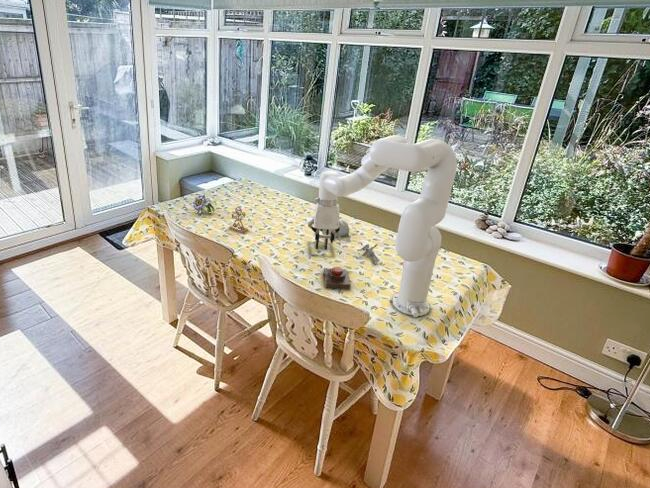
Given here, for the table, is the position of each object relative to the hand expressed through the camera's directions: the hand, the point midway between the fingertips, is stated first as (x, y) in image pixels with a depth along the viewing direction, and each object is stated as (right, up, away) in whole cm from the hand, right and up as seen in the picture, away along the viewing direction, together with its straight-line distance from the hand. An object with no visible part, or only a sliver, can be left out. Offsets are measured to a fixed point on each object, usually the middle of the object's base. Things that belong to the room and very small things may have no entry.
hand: (324, 241), depth 172 cm
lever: (0, +3, +5) cm, 5 cm away
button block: (+3, -15, -10) cm, 18 cm away
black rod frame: (+1, -5, +13) cm, 14 cm away
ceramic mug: (+12, -1, +24) cm, 27 cm away
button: (+3, -11, -12) cm, 16 cm away
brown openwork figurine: (-37, +3, +31) cm, 48 cm away
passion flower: (-56, +11, +51) cm, 77 cm away
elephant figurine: (+21, -9, +6) cm, 23 cm away
